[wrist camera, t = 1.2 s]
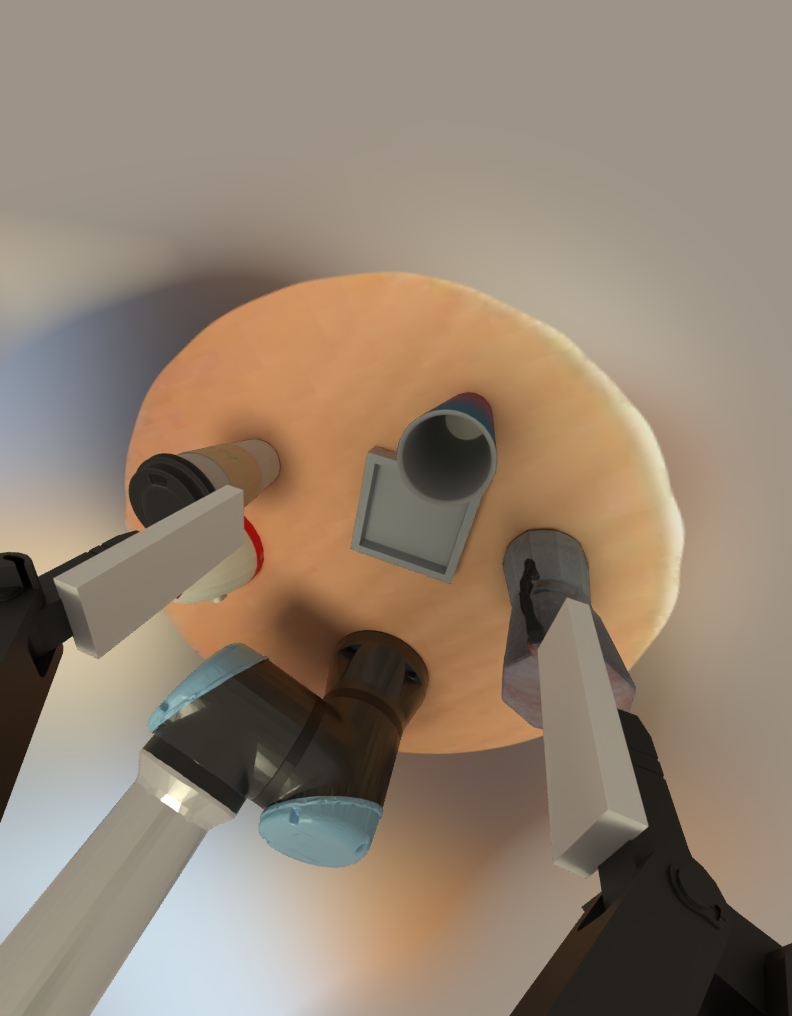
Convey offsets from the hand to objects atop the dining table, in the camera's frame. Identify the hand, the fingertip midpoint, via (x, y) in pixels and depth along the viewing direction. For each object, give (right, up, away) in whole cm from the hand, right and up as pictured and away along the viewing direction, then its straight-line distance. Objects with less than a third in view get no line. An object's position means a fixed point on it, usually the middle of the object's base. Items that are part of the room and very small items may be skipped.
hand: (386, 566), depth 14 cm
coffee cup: (-17, +8, +33) cm, 38 cm away
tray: (+3, +2, +29) cm, 30 cm away
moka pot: (+17, -3, +28) cm, 33 cm away
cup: (+8, +12, +23) cm, 27 cm away
